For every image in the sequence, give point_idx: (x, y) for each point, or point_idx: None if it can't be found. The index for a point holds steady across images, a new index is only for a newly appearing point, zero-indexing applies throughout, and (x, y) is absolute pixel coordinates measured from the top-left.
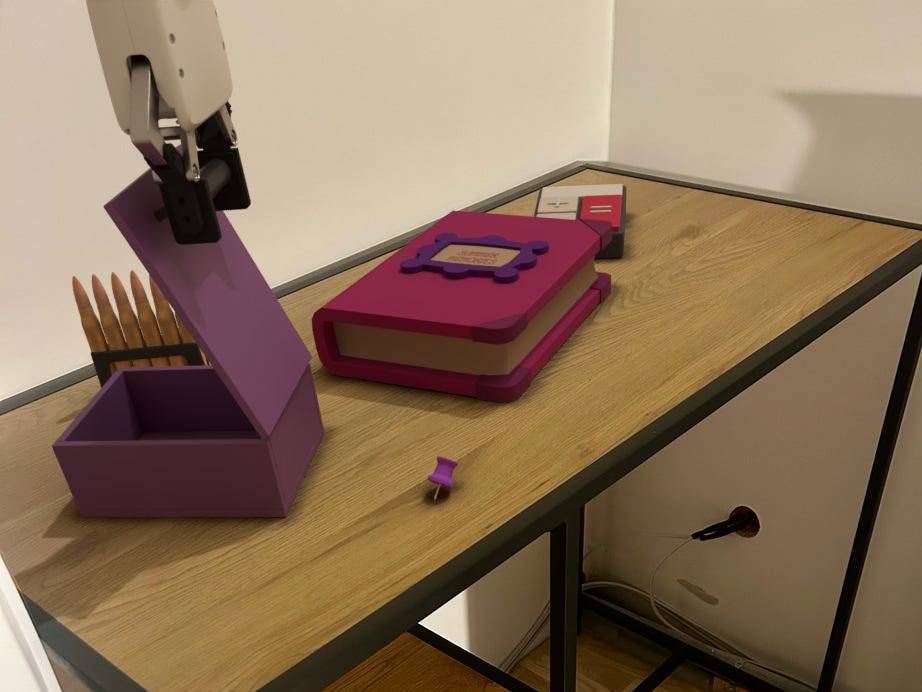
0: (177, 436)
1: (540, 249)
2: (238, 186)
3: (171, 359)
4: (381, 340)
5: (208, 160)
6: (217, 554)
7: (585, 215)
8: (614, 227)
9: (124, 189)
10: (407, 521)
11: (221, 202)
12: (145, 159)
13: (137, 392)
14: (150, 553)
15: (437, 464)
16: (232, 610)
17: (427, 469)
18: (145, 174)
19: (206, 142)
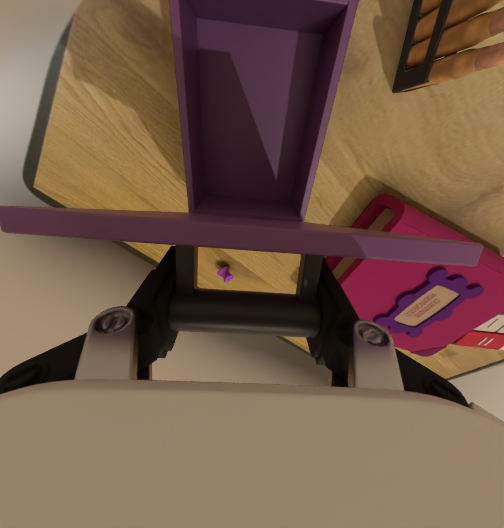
0: (305, 82)
1: (407, 334)
2: None
3: (429, 41)
4: None
5: (322, 321)
6: (161, 161)
7: (485, 335)
8: (455, 343)
9: (112, 229)
10: (201, 255)
11: None
12: (3, 375)
13: (335, 29)
14: (153, 108)
15: (226, 274)
16: (115, 183)
17: (245, 260)
18: (228, 248)
19: (336, 349)
